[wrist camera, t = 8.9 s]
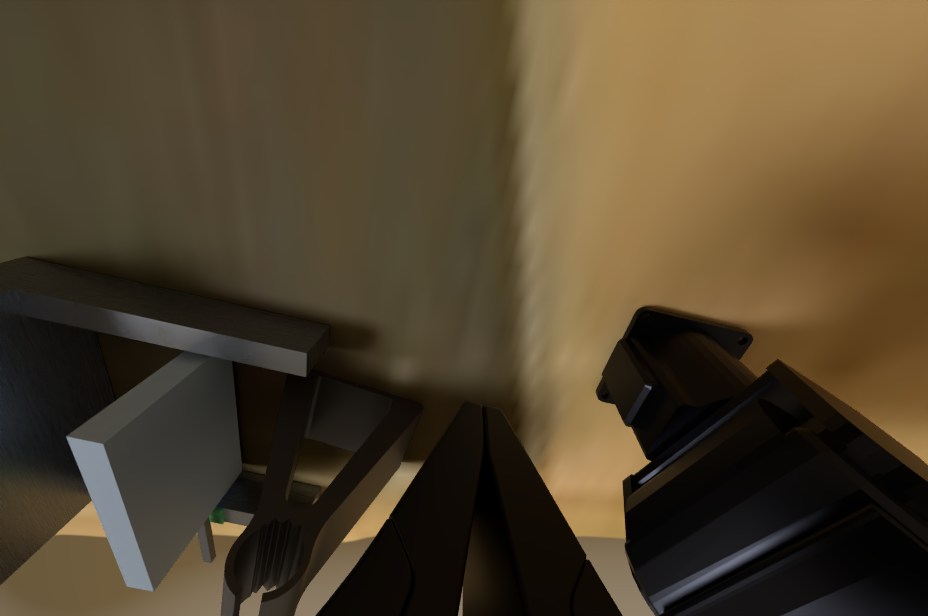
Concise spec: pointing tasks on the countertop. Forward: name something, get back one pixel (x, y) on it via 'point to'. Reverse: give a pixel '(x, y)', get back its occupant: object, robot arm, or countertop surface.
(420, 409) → the phone stand
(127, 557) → the paddle
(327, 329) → the gauge frame
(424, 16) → the countertop surface
